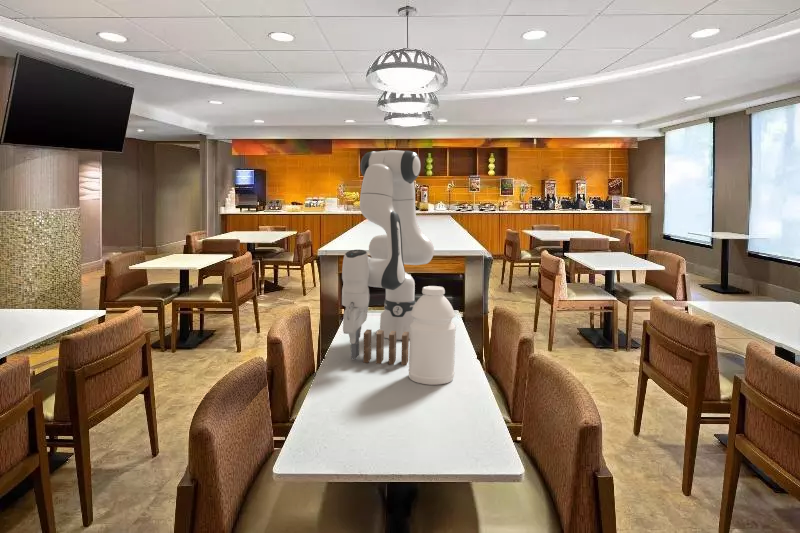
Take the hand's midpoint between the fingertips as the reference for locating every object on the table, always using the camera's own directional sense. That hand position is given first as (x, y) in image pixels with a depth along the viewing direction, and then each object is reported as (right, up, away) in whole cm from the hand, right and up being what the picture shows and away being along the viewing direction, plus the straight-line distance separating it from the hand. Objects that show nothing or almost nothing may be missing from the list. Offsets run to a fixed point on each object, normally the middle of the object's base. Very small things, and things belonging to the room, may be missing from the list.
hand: (355, 340), depth 194 cm
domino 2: (+8, -7, 0) cm, 11 cm away
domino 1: (+4, -7, 0) cm, 8 cm away
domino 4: (+17, -7, -2) cm, 18 cm away
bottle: (+24, -10, -16) cm, 31 cm away
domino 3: (+12, -7, -1) cm, 14 cm away
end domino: (0, -6, +1) cm, 6 cm away
